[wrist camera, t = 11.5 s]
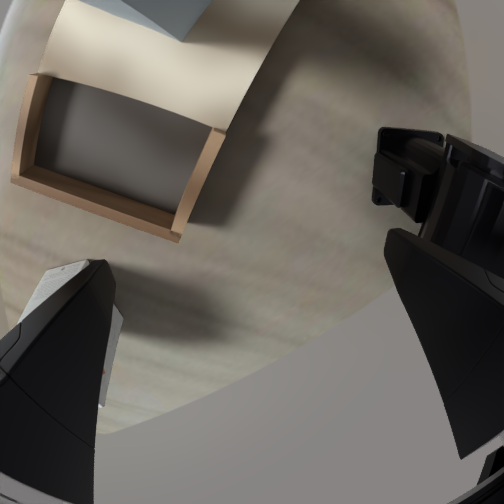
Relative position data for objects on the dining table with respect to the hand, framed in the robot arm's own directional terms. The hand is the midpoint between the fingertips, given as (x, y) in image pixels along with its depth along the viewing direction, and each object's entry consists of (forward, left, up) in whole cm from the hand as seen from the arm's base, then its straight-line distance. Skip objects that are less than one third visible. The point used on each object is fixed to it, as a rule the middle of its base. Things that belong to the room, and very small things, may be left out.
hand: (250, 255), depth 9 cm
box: (+3, -11, -13) cm, 17 cm away
